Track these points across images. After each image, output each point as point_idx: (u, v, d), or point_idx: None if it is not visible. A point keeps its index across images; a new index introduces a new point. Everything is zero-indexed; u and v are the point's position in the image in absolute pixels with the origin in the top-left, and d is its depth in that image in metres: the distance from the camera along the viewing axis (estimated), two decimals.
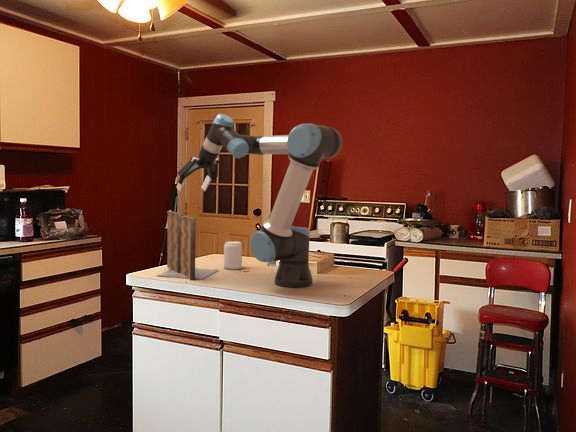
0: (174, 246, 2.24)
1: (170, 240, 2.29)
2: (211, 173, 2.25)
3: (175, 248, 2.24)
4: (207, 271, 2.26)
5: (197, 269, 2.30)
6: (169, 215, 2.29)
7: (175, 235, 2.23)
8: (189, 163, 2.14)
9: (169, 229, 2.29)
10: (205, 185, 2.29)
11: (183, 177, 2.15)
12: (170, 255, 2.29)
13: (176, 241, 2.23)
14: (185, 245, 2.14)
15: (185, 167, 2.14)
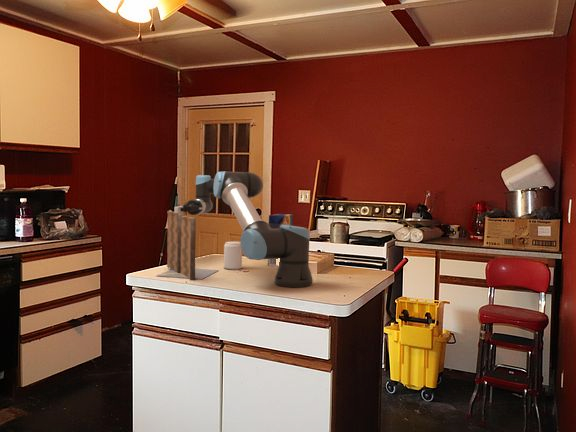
0: (174, 246, 2.24)
1: (170, 240, 2.29)
2: (187, 206, 2.43)
3: (175, 248, 2.24)
4: (207, 271, 2.26)
5: (197, 269, 2.30)
6: (169, 215, 2.29)
7: (175, 235, 2.23)
8: None
9: (169, 229, 2.29)
10: None
11: (178, 206, 2.41)
12: (170, 255, 2.29)
13: (176, 241, 2.23)
14: (185, 245, 2.14)
15: None
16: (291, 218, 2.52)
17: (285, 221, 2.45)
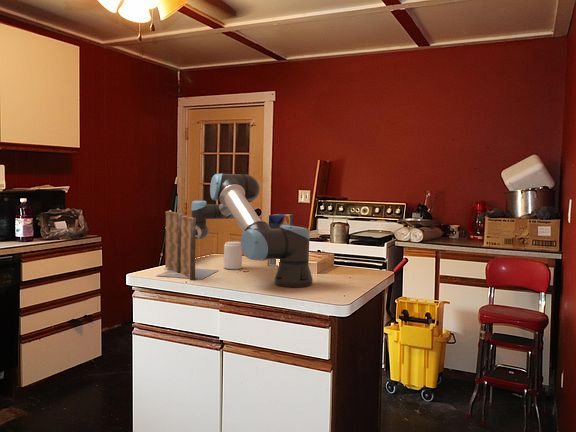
0: (174, 247, 2.24)
1: (169, 240, 2.28)
2: None
3: (174, 248, 2.24)
4: (207, 271, 2.26)
5: (197, 269, 2.30)
6: (167, 215, 2.28)
7: (175, 235, 2.23)
8: None
9: (167, 229, 2.29)
10: None
11: None
12: (169, 255, 2.29)
13: (176, 241, 2.22)
14: (185, 245, 2.14)
15: None
16: (291, 218, 2.52)
17: (285, 221, 2.45)
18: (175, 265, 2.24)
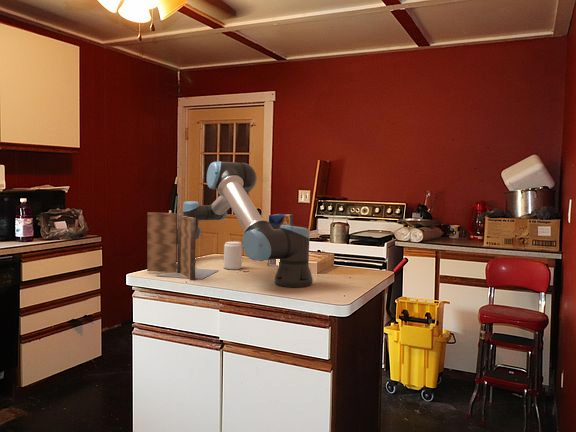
0: (168, 248, 2.20)
1: (156, 242, 2.20)
2: None
3: (170, 249, 2.20)
4: (207, 271, 2.26)
5: (197, 269, 2.30)
6: (152, 216, 2.20)
7: (170, 236, 2.20)
8: None
9: (153, 231, 2.20)
10: None
11: None
12: (156, 258, 2.21)
13: (172, 242, 2.20)
14: (185, 245, 2.14)
15: None
16: (291, 218, 2.52)
17: (285, 221, 2.45)
18: (171, 266, 2.21)
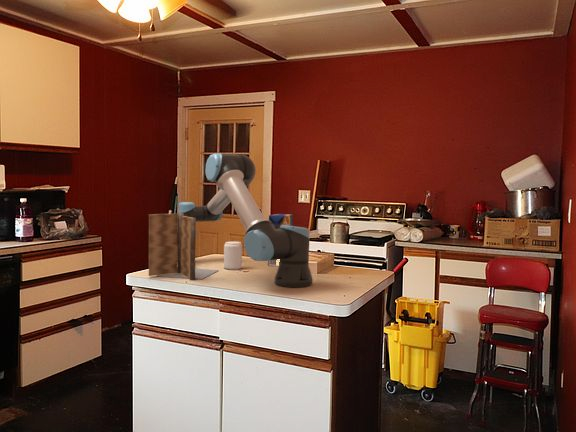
0: (170, 249, 2.17)
1: (158, 245, 2.13)
2: None
3: (171, 250, 2.17)
4: (207, 271, 2.26)
5: (197, 269, 2.30)
6: (155, 218, 2.11)
7: (171, 237, 2.17)
8: None
9: (155, 233, 2.12)
10: None
11: None
12: (158, 261, 2.14)
13: (174, 242, 2.18)
14: (185, 245, 2.14)
15: None
16: (291, 218, 2.52)
17: (285, 221, 2.45)
18: (173, 267, 2.18)
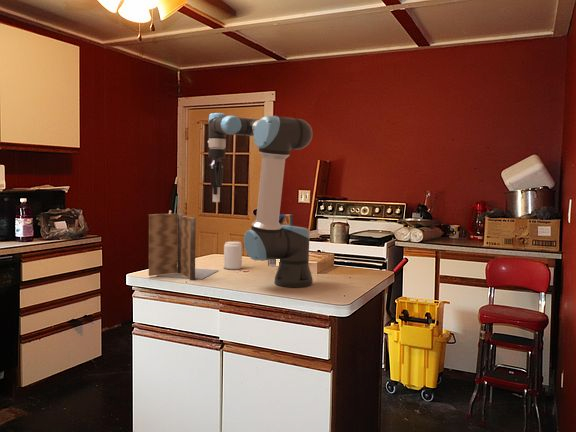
0: (170, 249, 2.17)
1: (158, 245, 2.13)
2: (220, 178, 2.33)
3: (171, 250, 2.17)
4: (207, 271, 2.26)
5: (197, 269, 2.30)
6: (155, 218, 2.11)
7: (171, 237, 2.17)
8: (212, 171, 2.26)
9: (155, 233, 2.12)
10: None
11: (217, 186, 2.30)
12: (158, 261, 2.14)
13: (174, 242, 2.18)
14: (185, 245, 2.14)
15: (212, 176, 2.27)
16: (291, 218, 2.52)
17: (285, 221, 2.45)
18: (173, 267, 2.18)
